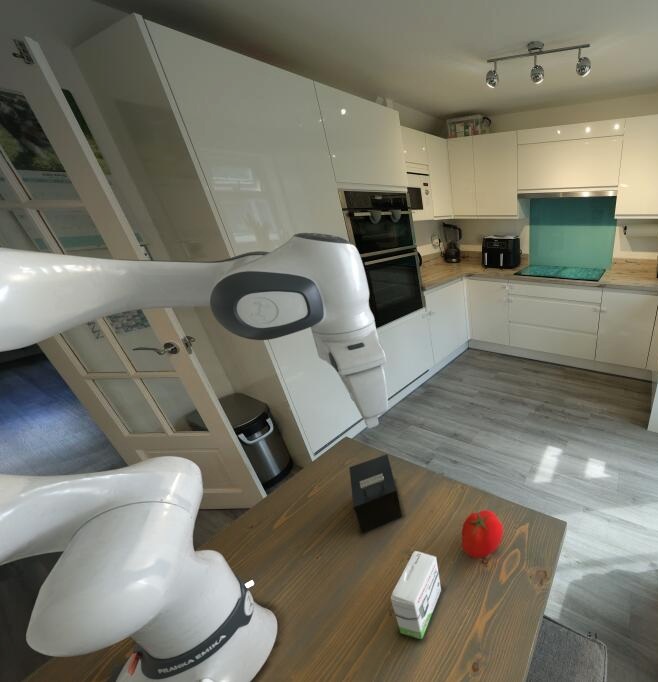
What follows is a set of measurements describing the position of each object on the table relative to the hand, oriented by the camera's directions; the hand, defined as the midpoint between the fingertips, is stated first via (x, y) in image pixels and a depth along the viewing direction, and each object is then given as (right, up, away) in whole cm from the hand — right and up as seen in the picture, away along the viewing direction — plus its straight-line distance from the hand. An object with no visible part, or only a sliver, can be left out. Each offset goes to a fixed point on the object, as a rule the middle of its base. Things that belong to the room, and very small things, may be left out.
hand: (364, 411), depth 55 cm
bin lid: (-9, -23, +24) cm, 34 cm away
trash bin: (-9, -32, +28) cm, 44 cm away
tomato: (+19, -36, +19) cm, 45 cm away
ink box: (+8, -42, +7) cm, 43 cm away
